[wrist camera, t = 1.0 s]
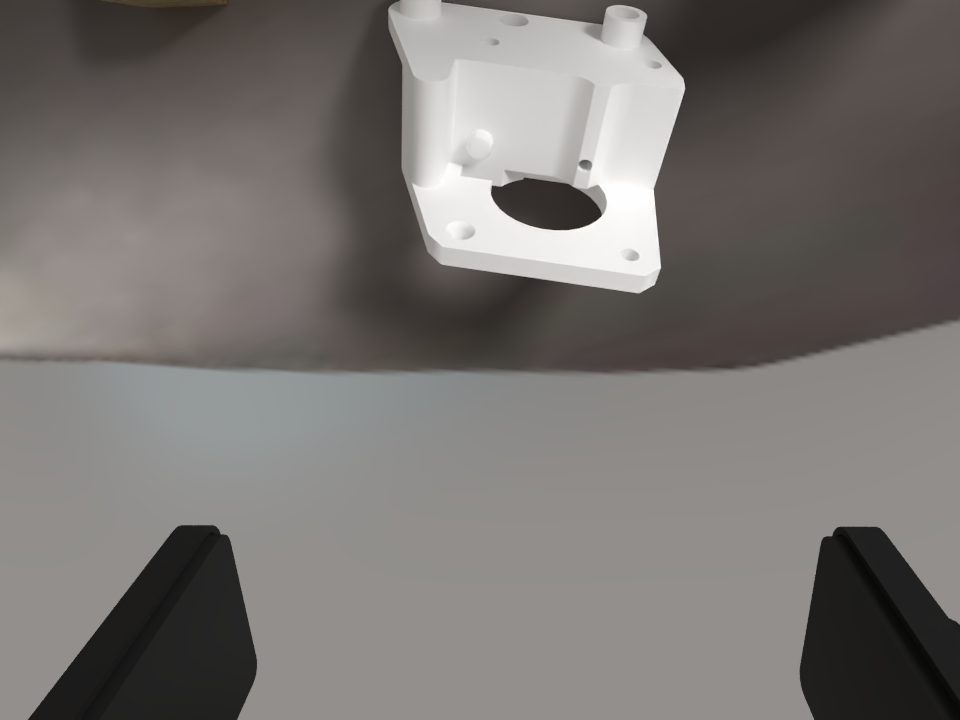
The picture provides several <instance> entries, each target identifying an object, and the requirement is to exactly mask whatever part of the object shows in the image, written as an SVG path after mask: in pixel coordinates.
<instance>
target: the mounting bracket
mask: <svg viewBox="0 0 960 720" xmlns="http://www.w3.org/2000/svg"><path fill="white" fill-rule="evenodd" d="M646 20H647V15H646V13H644V12H643V11H642V10H640V9H637V8H634V7H631V6H625V5H614V6H610V7H608V8H607V9H606V13H605V17H604V22H603V25H601V24H593V23H586V22H579V21H572V20H565V19H558V18H551V17H544V16H536V15H529V14H522V13H515V12H508V11H501V10H494V9H487V8H479V7H472V6H465V5H458V4H451V3H444V2H441V0H400V1H398V2H395V3H394V4H392V5H391V6H390V7H389V9H388V27H389V31H390V34H391V36H392V39H393V42H394V44H395V47H396V49H397V52H398V55H399V57H400V60H401V63H402V172H403V175H404V178H405V181H406V185H407V188H408V191H409V194H410V197H411V200H412V204H413V207H414V210H415V213H416V216H417V219H418V223H419V226H420V229H421V232H422V235H423V239H424V242H425V245H426V248H427V251H428V253H430V254H431V255H432V256H433V257H434V258H435V259H436V260H437V261H438V262H439V263H440V264H442V265H448V266H455V267H462V268H469V269H476V270H483V271H490V272H497V273H504V274H510V275H517V276H524V277H531V278H538V279H545V280H552V281H559V282H565V283H572V284H579V285H586V286H593V287H600V288H607V289H614V290H621V291H627V292H634V293H640V292H642V291H644V290H646V289H648V288H650V287H651V286H653V285H655V283H656V280H657V277H658V274H659V271H660V269H661V265H660V254H659V243H658V233H657V222H656V211H655V200H654V190H653V189H654V186H655V183H656V180H657V177H658V174H659V170H660V167H661V164H662V161H663V158H664V155H665V151H666V148H667V145H668V142H669V139H670V136H671V133H672V129H673V126H674V123H675V120H676V117H677V114H678V110H679V107H680V104H681V101H682V98H683V95H684V91H685V85H684V79H683V78H682V76H681V75H680V74H679V73H678V72H677V71H676V69H675V68H674V67H673V66H672V65H671V64H670V63H669V61H668V60H667V59H666V58H665V57H664V56H663V54H662V53H661V52H660V51H659V50H658V49H657V48H656V46H655V45H654V44H653V43H652V42H651V41H650V40H649V39H648V38H647V37H646V36H644V35H643V32H644V28H645V24H646ZM524 177H525V178H532V179H539V180H546V181H553V182H560V183H567V184H570V185H571V186H572V187H575V188H577V189H579V190H580V191H582V192H584V193H585V194H586V195H588V196H589V197H591V199H592V200H593V201H594V202H595V203H596V204H597V205H598V207H599V209H600V210H601V214H602V216H601V217H600V218H599V219H598V220H597V221H595V222H594V223H592V224H590V225H588V226H585V227H582V228H579V229H572V230H547V229H540V228H536V227H532V226H529V225H526V224H523V223H521V222H518V221H516V220H515V219H513V218H511V217H509V216H508V215H506V214H505V213H504V212H503V211H502V210H500V209H499V208H498V206H497V205H496V204H495V203H494V201H493V199H492V196H491V188H492V185H494V186H501V187H502V186H504V185H506V184H508V183H511V182H514V181H518V180H523V179H524Z"/></svg>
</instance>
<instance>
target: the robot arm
mask: <svg viewBox="0 0 960 720" xmlns="http://www.w3.org/2000/svg"><path fill="white" fill-rule="evenodd" d="M256 670H257V659H256V654H255V649H254V645H253V640H252V636H251V631H250V627H249V623H248V618H247V613H246V609H245V604H244V600H243V595H242V591H241V587H240V583H239V578H238V573H237V569H236V565H235V560H234V555H233V551H232V546H231V542H230V539H229V537H228V536H227V535H221V534H220V531H219V529H218V528H217V527H216V526H213V525H212V526H211V525H204V526H203V525H197V526H196V525H194V526H193V525H181V526H178V527H177V528H176V529H175V530H174V531H173V532H172V533H171V534H170V536H169V537H168V538H167V540H166V541H165V542H164V544H163V545H162V546H161V547H160V549H159V550H158V551H157V553H156V554H155V555H154V557H153V558H152V559H151V560H150V562H149V563H148V564H147V566H146V567H145V568H144V570H143V571H142V572H141V573H140V575H139V576H138V577H137V579H136V580H135V582H134V583H133V584H132V585H131V587H130V588H129V589H128V590H127V592H126V593H125V594H124V596H123V597H122V598H121V599H120V601H119V602H118V603H117V605H116V606H115V607H114V609H113V610H112V611H111V613H110V614H109V615H108V616H107V618H106V619H105V620H104V622H103V623H102V624H101V625H100V627H99V628H98V629H97V631H96V632H95V633H94V635H93V636H92V637H91V638H90V640H89V641H88V642H87V644H86V645H85V646H84V648H83V649H82V650H81V651H80V653H79V654H78V655H77V657H76V658H75V659H74V661H73V662H72V663H71V665H70V666H69V667H68V668H67V670H66V671H65V672H64V674H63V675H62V676H61V678H60V679H59V680H58V681H57V683H56V684H55V685H54V687H53V688H52V689H51V690H50V692H49V693H48V694H47V696H46V697H45V698H44V700H43V701H42V702H41V703H40V705H39V706H38V707H37V709H36V710H35V711H34V713H33V714H32V715H31V716H30V718H29V719H28V720H237V718H238V716H239V714H240V712H241V709H242V707H243V705H244V703H245V700H246V698H247V696H248V694H249V692H250V689H251V687H252V685H253V682H254V680H255V676H256ZM800 681H801V687H802V690H803V694H804V696H805V699H806V701H807V703H808V706H809V708H810V710H811V713H812V715H813V717H814V720H960V625H959V624H958V623H957V622H955V621H953V620H951V619H949V618H948V617H947V616H946V614H945V613H944V611H943V610H942V609H941V607H940V606H939V605H938V603H937V602H936V601H935V600H934V598H933V597H932V595H931V594H930V593H929V591H928V590H927V589H926V587H925V586H924V585H923V583H922V582H921V581H920V579H919V578H918V577H917V575H916V574H915V573H914V571H913V570H912V569H911V567H910V566H909V565H908V563H907V562H906V561H905V559H904V558H903V557H902V555H901V554H900V553H899V551H898V550H897V549H896V547H895V546H894V545H893V543H892V542H891V541H890V539H889V538H888V537H887V535H886V534H885V533H884V532H883V531H882V530H881V529H880V528H878V527H838V528H836V529H835V531H834V532H833V536H830V537H829V536H827V537H824V538H823V540H822V542H821V546H820V552H819V558H818V564H817V570H816V575H815V581H814V587H813V594H812V600H811V605H810V611H809V617H808V623H807V629H806V635H805V641H804V647H803V653H802V659H801V665H800Z"/></svg>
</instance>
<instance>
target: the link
mask: <svg viewBox="0 0 960 720" xmlns="http://www.w3.org/2000/svg"><path fill="white" fill-rule="evenodd" d="M101 1H108V2H114V3H121V4H128V5H134V6H141V7H147V8H164V7H187V6H210V5H228V0H101Z"/></svg>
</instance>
